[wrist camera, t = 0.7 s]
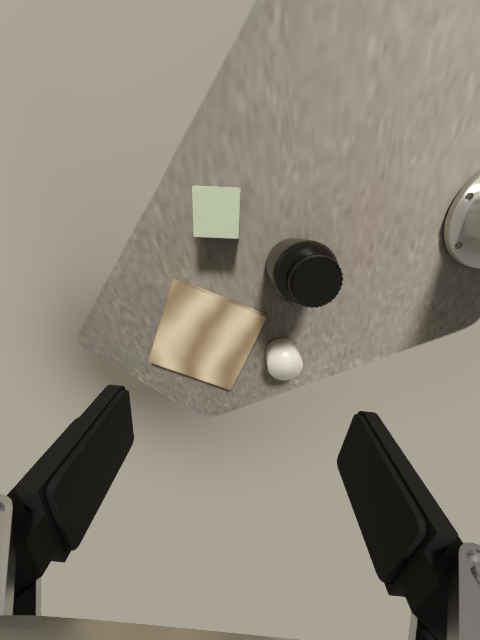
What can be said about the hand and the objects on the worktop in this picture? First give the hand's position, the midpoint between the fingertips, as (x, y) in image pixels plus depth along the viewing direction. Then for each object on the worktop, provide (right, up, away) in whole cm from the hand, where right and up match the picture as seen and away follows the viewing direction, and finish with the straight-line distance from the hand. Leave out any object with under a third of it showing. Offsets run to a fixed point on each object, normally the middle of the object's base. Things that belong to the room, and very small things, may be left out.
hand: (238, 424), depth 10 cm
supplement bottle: (+7, +12, +22) cm, 26 cm away
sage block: (-2, +18, +20) cm, 27 cm away
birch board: (-5, +2, +26) cm, 27 cm away
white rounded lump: (+7, -1, +27) cm, 28 cm away
